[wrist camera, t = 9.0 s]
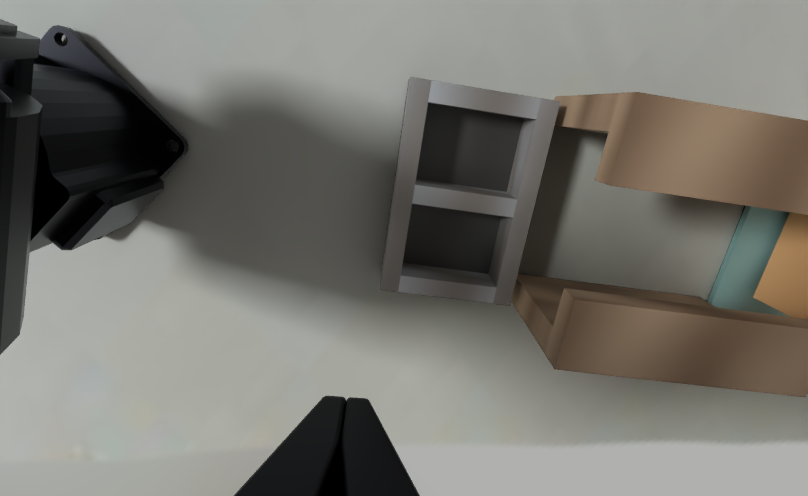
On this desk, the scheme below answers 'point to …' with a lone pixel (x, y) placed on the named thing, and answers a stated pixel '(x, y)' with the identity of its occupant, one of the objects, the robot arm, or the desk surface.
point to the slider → (788, 270)
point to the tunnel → (620, 166)
